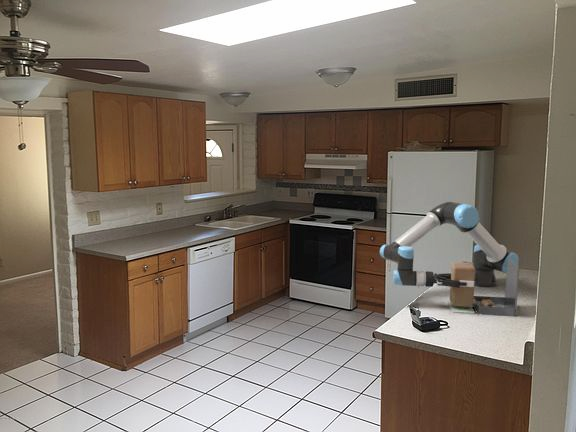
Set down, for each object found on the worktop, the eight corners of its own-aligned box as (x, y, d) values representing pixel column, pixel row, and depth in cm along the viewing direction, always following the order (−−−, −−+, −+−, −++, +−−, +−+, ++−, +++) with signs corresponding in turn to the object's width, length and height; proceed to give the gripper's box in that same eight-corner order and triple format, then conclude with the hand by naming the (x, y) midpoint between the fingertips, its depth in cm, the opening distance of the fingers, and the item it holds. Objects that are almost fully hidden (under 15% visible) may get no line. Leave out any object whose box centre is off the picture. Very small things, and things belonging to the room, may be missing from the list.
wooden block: (473, 307, 243) (475, 267, 240) (451, 306, 245) (454, 266, 242) (470, 301, 252) (472, 262, 249) (449, 300, 254) (451, 261, 251)
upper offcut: (486, 303, 252) (489, 299, 251) (491, 307, 250) (494, 303, 249) (479, 303, 243) (482, 299, 243) (485, 307, 241) (488, 304, 241)
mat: (447, 302, 257) (447, 301, 257) (468, 303, 256) (468, 302, 256) (453, 312, 242) (453, 311, 242) (474, 313, 240) (474, 312, 240)
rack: (470, 303, 256) (473, 257, 252) (506, 304, 254) (509, 258, 250) (478, 314, 239) (481, 265, 236) (515, 316, 237) (519, 267, 233)
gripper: (421, 279, 261) (466, 281, 258) (427, 292, 239) (475, 295, 235) (422, 265, 260) (467, 267, 257) (427, 277, 238) (476, 279, 234)
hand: (471, 280), depth 246 cm, fingers closed on wooden block, 10 cm apart
